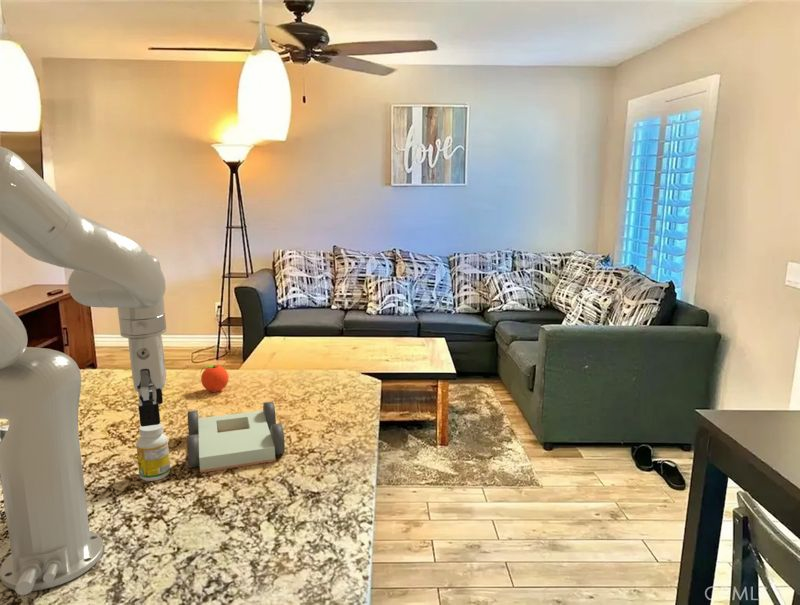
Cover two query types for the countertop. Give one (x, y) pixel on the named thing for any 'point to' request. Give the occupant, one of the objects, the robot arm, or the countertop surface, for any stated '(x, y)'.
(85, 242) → the robot arm
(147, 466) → the supplement bottle
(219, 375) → the tomato
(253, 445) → the chassis
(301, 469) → the countertop surface
